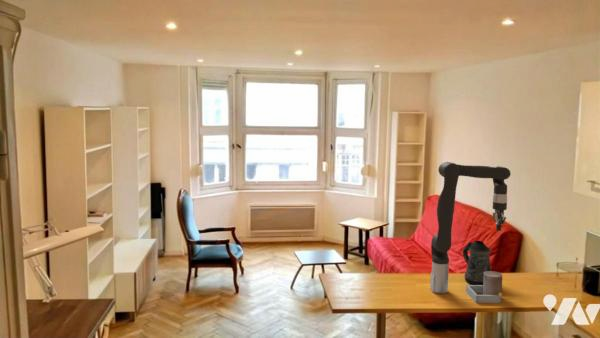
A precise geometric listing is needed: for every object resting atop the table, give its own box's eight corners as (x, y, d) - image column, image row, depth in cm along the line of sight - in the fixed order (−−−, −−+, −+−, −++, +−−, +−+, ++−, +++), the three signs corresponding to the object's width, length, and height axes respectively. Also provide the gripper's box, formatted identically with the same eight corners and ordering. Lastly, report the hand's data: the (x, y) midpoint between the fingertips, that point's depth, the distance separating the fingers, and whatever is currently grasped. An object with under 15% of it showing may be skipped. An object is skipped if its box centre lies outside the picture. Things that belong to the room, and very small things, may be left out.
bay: (475, 302, 240) (476, 293, 240) (465, 291, 256) (466, 283, 255) (501, 302, 240) (501, 293, 239) (489, 292, 255) (490, 283, 255)
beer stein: (490, 288, 260) (492, 247, 258) (456, 282, 271) (458, 242, 268) (495, 280, 274) (497, 241, 271) (463, 274, 285) (464, 236, 282)
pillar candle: (502, 296, 249) (503, 270, 248) (500, 302, 241) (501, 275, 239) (484, 293, 254) (485, 267, 253) (481, 298, 246) (482, 272, 244)
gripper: (488, 199, 261) (487, 227, 263) (498, 203, 248) (496, 233, 250) (501, 199, 261) (500, 227, 263) (511, 203, 248) (510, 233, 250)
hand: (498, 230), depth 257 cm, fingers closed
